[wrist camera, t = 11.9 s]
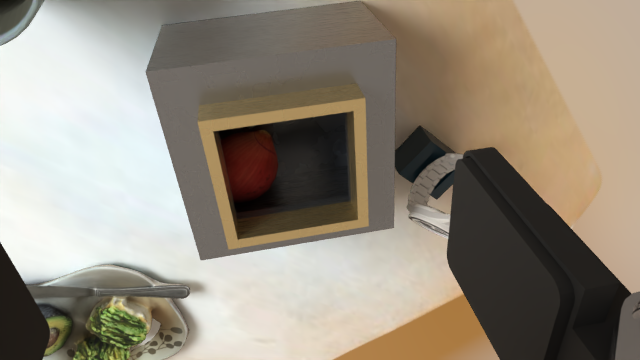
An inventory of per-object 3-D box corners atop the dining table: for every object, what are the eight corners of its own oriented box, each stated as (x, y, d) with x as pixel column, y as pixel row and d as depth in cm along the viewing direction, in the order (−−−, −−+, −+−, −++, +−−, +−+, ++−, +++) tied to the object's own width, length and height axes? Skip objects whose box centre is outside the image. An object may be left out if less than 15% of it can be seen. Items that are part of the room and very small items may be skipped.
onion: (293, 159, 39) (235, 234, 41) (297, 148, 45) (247, 214, 46) (234, 114, 39) (178, 192, 40) (246, 109, 44) (196, 177, 46)
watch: (376, 171, 50) (410, 241, 41) (432, 111, 47) (482, 173, 38) (413, 195, 52) (453, 267, 43) (469, 140, 49) (523, 205, 40)
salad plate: (155, 225, 49) (149, 256, 45) (225, 330, 59) (225, 363, 56) (-22, 286, 50) (-42, 321, 46) (77, 380, 60) (68, 415, 56)
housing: (162, 25, 38) (140, 87, 28) (360, 0, 40) (407, 51, 30) (204, 190, 48) (199, 281, 37) (365, 165, 49) (402, 246, 39)
